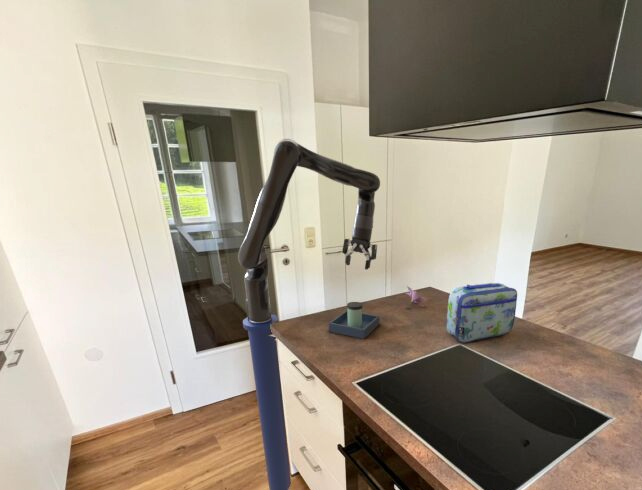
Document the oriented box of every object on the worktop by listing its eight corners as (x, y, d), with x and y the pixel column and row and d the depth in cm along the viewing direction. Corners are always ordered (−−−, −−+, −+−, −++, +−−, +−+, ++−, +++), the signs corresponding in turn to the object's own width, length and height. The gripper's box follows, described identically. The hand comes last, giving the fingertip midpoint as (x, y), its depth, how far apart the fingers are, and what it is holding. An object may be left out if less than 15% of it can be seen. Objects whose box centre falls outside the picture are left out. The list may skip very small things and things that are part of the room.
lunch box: (455, 346, 133) (462, 292, 124) (441, 334, 142) (446, 283, 134) (514, 337, 140) (524, 286, 132) (497, 326, 149) (505, 278, 141)
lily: (426, 314, 163) (433, 294, 163) (403, 305, 160) (411, 285, 160) (416, 312, 175) (423, 294, 175) (395, 304, 172) (401, 285, 172)
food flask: (344, 327, 144) (344, 305, 141) (351, 322, 150) (351, 300, 146) (358, 330, 142) (358, 307, 139) (364, 324, 147) (364, 303, 144)
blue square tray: (329, 331, 143) (328, 322, 141) (346, 318, 155) (346, 310, 154) (363, 338, 137) (364, 329, 136) (379, 324, 150) (379, 315, 148)
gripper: (342, 223, 142) (337, 264, 146) (375, 229, 137) (369, 271, 142) (351, 224, 148) (345, 263, 153) (382, 230, 144) (376, 269, 148)
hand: (357, 267), depth 147 cm, fingers open, 8 cm apart
